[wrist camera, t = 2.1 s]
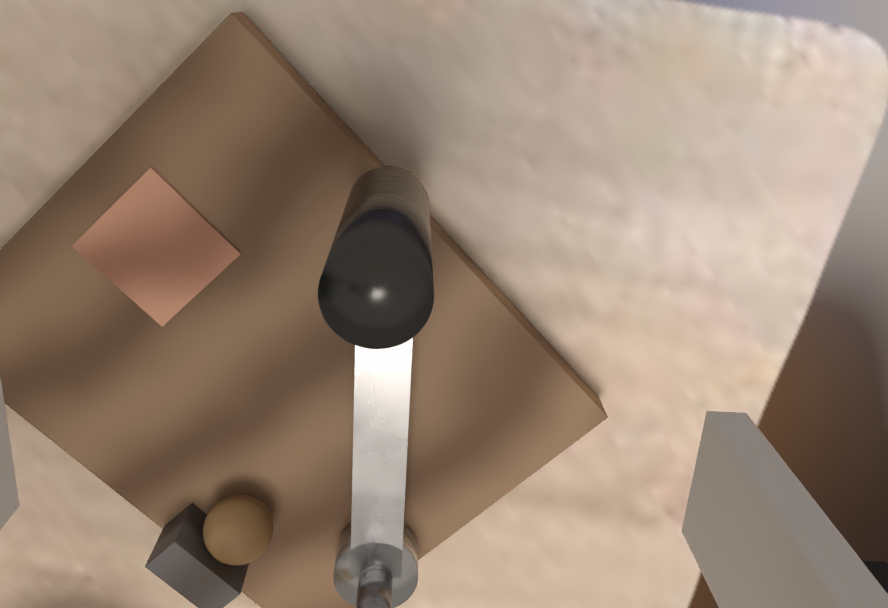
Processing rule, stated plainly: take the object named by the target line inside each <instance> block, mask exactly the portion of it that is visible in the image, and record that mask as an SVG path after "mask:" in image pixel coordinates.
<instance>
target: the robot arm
mask: <svg viewBox="0 0 888 608" xmlns="http://www.w3.org/2000/svg"><path fill="white" fill-rule="evenodd" d="M18 507H19V499H18V492H17V485H16V478H15V472H14V465H13V458H12V451H11V445H10V438H9V431H8V424H7V417H6V411H5V404H4V397H3V390H2V384H1V378H0V530H1V528H2V527H3V526H4V524H5V523H6V522H7V521H8V519H9V518H10V517H11V516H12V514H13V513H14V512H15V511H16V509H17V508H18ZM682 533H683V535H684V537H685V539H686V541H687V543H688V545H689V547H690V549H691V551H692V553H693V555H694V557H695V559H696V561H697V563H698V566H699V568H700V570H701V572H702V574H703V576H704V578H705V580H706V582H707V584H708V586H709V588H710V590H711V592H712V594H713V596H714V598H715V600H716V602H717V604H718V606H719V608H888V564H887V563H886V562H878V561H861V559H860V558H859V557H858V556H857V554H856V553H855V552H854V550H853V549H852V548H851V547H850V545H849V544H848V543H847V541H846V540H845V539H844V538H843V536H842V535H841V534H840V533H839V532H838V530H837V529H836V527H835V526H834V525H833V523H832V522H831V521H830V520H829V518H828V517H827V516H826V515H825V513H824V512H823V511H822V510H821V508H820V507H819V506H818V504H817V503H816V502H815V500H814V499H813V498H812V497H811V496H810V494H809V493H808V491H807V490H806V489H805V488H804V486H803V485H802V484H801V483H800V481H799V480H798V479H797V477H796V476H795V475H794V474H793V472H792V471H791V470H790V468H789V467H788V466H787V465H786V463H785V462H784V461H783V459H782V458H781V457H780V456H779V454H778V453H777V452H776V451H775V449H774V448H773V447H772V445H771V444H770V443H769V442H768V440H767V439H766V438H765V436H764V435H763V434H762V433H761V431H760V430H759V429H758V428H757V426H756V425H755V424H754V422H753V421H752V420H751V419H750V417H749V416H748V415H747V413H737V412H715V411H707V412H706V417H705V422H704V427H703V432H702V436H701V441H700V446H699V451H698V456H697V460H696V465H695V470H694V475H693V479H692V484H691V489H690V494H689V499H688V503H687V508H686V513H685V518H684V523H683V527H682Z"/></svg>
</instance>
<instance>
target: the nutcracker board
mask: <svg viewBox="0 0 888 608" xmlns="http://www.w3.org/2000/svg"><path fill="white" fill-rule="evenodd" d="M378 167H384V165H383V164H382V163H381V162H380V160H379V159H378V158H377V157H376V156H375V155H374V154H373V153H372V152H371V151H370V150H369V149H368V147H367V146H366V145H365V144H364V143H363V142H362V141H361V140H360V139H359V138H358V137H357V136H356V135H355V133H354V132H353V131H352V130H351V129H350V128H349V127H348V126H347V125H346V124H345V123H344V122H343V120H342V119H341V118H340V117H339V116H338V115H337V114H336V113H335V112H334V111H333V110H332V109H331V108H330V106H329V105H328V104H327V103H326V102H325V101H324V100H323V99H322V98H321V97H320V96H319V95H318V93H317V92H316V91H315V90H314V89H313V88H312V87H311V86H310V85H309V84H308V83H307V82H306V81H305V79H304V78H303V77H302V76H301V75H300V74H299V73H298V72H297V71H296V70H295V69H294V68H293V66H292V65H291V64H290V63H289V62H288V61H287V60H286V59H285V58H284V57H283V56H282V55H281V53H280V52H279V51H278V50H277V49H276V48H275V47H274V46H273V45H272V44H271V43H270V42H269V41H268V39H267V38H266V37H265V36H264V35H263V34H262V33H261V32H260V31H259V30H258V29H257V28H256V26H255V25H254V24H253V23H252V22H251V21H250V20H249V19H248V18H247V17H246V16H245V15H244V14H243V12H237V13H231V14H230V15H229V16H228V17H227V18H226V19H225V20H224V21H223V22H222V23H221V24H220V25H219V26H218V27H217V28H216V29H215V30H214V31H213V32H212V33H211V34H210V35H209V37H208V38H207V39H206V40H205V41H204V42H203V43H202V44H201V45H200V46H199V47H198V48H197V49H196V50H195V51H194V52H193V53H192V54H191V55H190V56H189V57H188V58H187V59H186V60H185V61H184V62H183V63H182V64H181V65H180V66H179V67H178V68H177V69H176V70H175V71H174V72H173V73H172V74H171V76H170V77H169V78H168V79H167V80H166V81H165V82H164V83H163V84H162V85H161V86H160V87H159V88H158V89H157V90H156V91H155V92H154V93H153V94H152V95H151V96H150V97H149V98H148V99H147V100H146V101H145V102H144V103H143V104H142V105H141V106H140V107H139V108H138V109H137V110H136V111H135V112H134V113H133V115H132V116H131V117H130V118H129V119H128V120H127V121H126V122H125V123H124V124H123V125H122V126H121V127H120V128H119V129H118V130H117V131H116V132H115V133H114V134H113V135H112V136H111V137H110V138H109V139H108V140H107V141H106V142H105V143H104V144H103V145H102V146H101V147H100V148H99V149H98V150H97V151H96V152H95V154H94V155H93V156H92V157H91V158H90V159H89V160H88V161H87V162H86V163H85V164H84V165H83V166H82V167H81V168H80V169H79V170H78V171H77V172H76V173H75V174H74V175H73V176H72V177H71V178H70V179H69V180H68V181H67V182H66V183H65V184H64V185H63V186H62V187H61V188H60V189H59V190H58V191H57V193H56V194H55V195H54V196H53V197H52V198H51V199H50V200H49V201H48V202H47V203H46V204H45V205H44V206H43V207H42V208H41V209H40V210H39V211H38V212H37V213H36V214H35V215H34V216H33V217H32V218H31V219H30V220H29V221H28V222H27V223H26V224H25V225H24V226H23V227H22V228H21V229H20V230H19V232H18V233H17V234H16V235H15V236H14V237H13V238H12V239H11V240H10V241H9V242H8V243H7V244H6V245H5V246H4V247H3V248H2V249H1V250H0V378H1V384H2V390H3V397H4V403H5V404H6V405H8V406H9V407H10V408H11V409H13V410H14V411H15V412H17V413H18V414H19V415H20V416H22V417H23V418H24V419H25V420H27V421H28V422H29V423H30V424H32V425H33V426H34V427H35V428H37V429H38V430H39V431H40V432H42V433H43V434H44V435H45V436H47V437H48V438H49V439H50V440H52V441H53V442H54V443H55V444H57V445H58V446H59V447H61V448H62V449H63V450H64V451H66V452H67V453H68V454H69V455H71V456H72V457H73V458H74V459H76V460H77V461H78V462H79V463H81V464H82V465H83V466H84V467H86V468H87V469H88V470H89V471H91V472H92V473H93V474H94V475H96V476H97V477H98V478H99V479H101V480H102V481H103V482H104V483H106V484H107V485H108V486H110V487H111V488H112V489H113V490H115V491H116V492H117V493H118V494H120V495H121V496H122V497H123V498H125V499H126V500H127V501H128V502H130V503H131V504H132V505H133V506H135V507H136V508H137V509H138V510H140V511H141V512H142V513H143V514H145V515H146V516H147V517H148V518H150V519H151V520H152V521H154V522H155V523H156V524H157V525H159V526H160V527H161V528H162V529H163V530H162V532H161V534H160V536H159V539H158V541H157V543H156V545H155V547H154V549H153V551H152V553H151V555H150V557H149V559H148V561H147V564H146V566H145V567H146V568H147V569H149V570H150V571H151V572H153V573H154V574H155V575H156V576H158V577H159V578H160V579H162V580H163V581H164V582H165V583H167V584H168V585H169V586H171V587H172V588H173V589H175V590H176V591H177V592H178V593H180V594H181V595H182V596H184V597H185V598H186V599H188V600H189V601H190V602H191V603H193V604H194V605H195V606H197V607H198V608H223V607H224V606H226V605H227V604H228V603H230V602H231V601H232V600H233V599H235V598H236V597H237V596H238V595H240V593H241V592H243V593H244V594H245V595H247V596H248V597H249V598H250V599H252V600H253V601H254V602H255V603H257V604H258V605H259V606H260V607H262V608H355V606H353V605H351V604H349V603H348V602H346V601H345V600H344V599H343V598H342V597H341V596H340V595H339V593H338V592H337V590H336V588H335V585H334V581H333V573H334V566H335V559H336V553H337V546H338V541H339V539H340V536H341V535H342V533H343V532H344V531H345V529H346V528H348V527H349V526H350V525H351V516H352V468H353V421H354V373H355V345H353V344H351V343H349V342H347V341H345V340H344V339H342V338H341V337H339V336H338V335H337V334H336V333H335V332H334V331H333V330H332V329H331V328H330V327H329V325H328V324H327V323H326V321H325V319H324V317H323V315H322V313H321V310H320V307H319V302H318V285H319V281H320V277H321V274H322V272H323V269H324V266H325V263H326V260H327V257H328V254H329V252H330V249H331V246H332V243H333V240H334V237H335V234H336V231H337V229H338V226H339V223H340V220H341V217H342V214H343V211H344V208H345V206H346V203H347V200H348V197H349V194H350V191H351V189H352V187H353V185H354V184H355V182H356V181H357V180H358V179H359V178H360V177H361V176H362V175H363V174H365V173H366V172H368V171H370V170H372V169H375V168H378ZM430 226H431V245H432V264H433V283H434V303H433V308H432V312H431V314H430V317H429V319H428V321H427V322H426V324H425V326H424V327H423V328H422V329H421V331H420V332H419V333H418V334H416V335H415V336H414V337H413V345H412V365H411V385H410V406H409V426H408V446H407V467H406V487H405V507H404V525H405V526H406V527H407V528H408V529H409V530H410V531H411V532H412V533H413V535H414V537H415V539H416V541H417V546H418V560H419V559H420V558H422V557H423V556H424V555H426V554H427V553H428V552H430V551H431V550H432V549H434V548H435V547H436V546H438V545H439V544H440V543H442V542H443V541H444V540H446V539H447V538H448V537H450V536H451V535H452V534H454V533H455V532H456V531H458V530H459V529H460V528H462V527H463V526H464V525H466V524H467V523H468V522H470V521H471V520H472V519H474V518H475V517H476V516H478V515H479V514H480V513H482V512H483V511H484V510H486V509H487V508H488V507H490V506H491V505H492V504H493V503H495V502H496V501H497V500H499V499H500V498H501V497H503V496H504V495H505V494H507V493H508V492H509V491H511V490H512V489H513V488H515V487H516V486H517V485H519V484H520V483H521V482H523V481H524V480H525V479H527V478H528V477H529V476H531V475H532V474H533V473H535V472H536V471H537V470H539V469H540V468H541V467H543V466H544V465H545V464H547V463H548V462H549V461H551V460H552V459H553V458H555V457H556V456H557V455H559V454H560V453H561V452H563V451H564V450H565V449H567V448H568V447H569V446H571V445H572V444H573V443H575V442H576V441H577V440H579V439H580V438H581V437H582V436H584V435H585V434H586V433H588V432H589V431H590V430H592V429H593V428H594V427H596V426H597V425H598V424H600V423H601V422H602V421H604V420H605V419H606V418H608V417H607V414H606V412H605V410H604V408H603V405H602V403H601V401H600V399H599V397H598V396H597V395H596V394H595V393H594V392H593V391H592V390H591V388H590V387H589V386H588V385H587V384H586V383H585V382H584V381H583V380H582V379H581V378H580V377H579V375H578V374H577V373H576V372H575V371H574V370H573V369H572V368H571V367H570V366H569V365H568V364H567V363H566V361H565V360H564V359H563V358H562V357H561V356H560V355H559V354H558V353H557V352H556V351H555V350H554V348H553V347H552V346H551V345H550V344H549V343H548V342H547V341H546V340H545V339H544V338H543V337H542V335H541V334H540V333H539V332H538V331H537V330H536V329H535V328H534V327H533V326H532V325H531V324H530V323H529V321H528V320H527V319H526V318H525V317H524V316H523V315H522V314H521V313H520V312H519V311H518V310H517V308H516V307H515V306H514V305H513V304H512V303H511V302H510V301H509V300H508V299H507V298H506V297H505V296H504V294H503V293H502V292H501V291H500V290H499V289H498V288H497V287H496V286H495V285H494V284H493V283H492V281H491V280H490V279H489V278H488V277H487V276H486V275H485V274H484V273H483V272H482V271H481V270H480V269H479V267H478V266H477V265H476V264H475V263H474V262H473V261H472V260H471V259H470V258H469V257H468V256H467V254H466V253H465V252H464V251H463V250H462V249H461V248H460V247H459V246H458V245H457V244H456V243H455V241H454V240H453V239H452V238H451V237H450V236H449V235H448V234H447V233H446V232H445V231H444V230H443V229H442V227H441V226H440V225H439V224H438V223H437V222H436V221H435V220H434V219H433V218H432V217H431V216H430Z"/></svg>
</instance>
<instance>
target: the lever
mask: <svg viewBox="0 0 888 608" xmlns="http://www.w3.org/2000/svg"><path fill="white" fill-rule="evenodd" d="M318 302H319V307H320V310H321V313H322V315H323V317H324V319H325V321H326V323H327V324H328V325H329V327H330V328H331V329H332V330H333V331H334V332H335V333H336V334H337V335H338V336H339V337H341V338H342V339H344V340H345V341H347V342H349V343H351V344H353V345H355V373H354V421H353V468H352V516H351V525H350V526H349V527H348V528H346V529H345V531H344V532H343V533H342V535H341V536H340V539H339V541H338V546H337V553H336V559H335V566H334V573H333V581H334V585H335V588H336V590H337V592H338V593H339V595H340V596H341V597H342V598H343V599H344V600H345V601H346V602H348V603H349V604H351V605H353V606H355V607H356V608H395V607H397V606H399V605H401V604H402V603H404V602H405V601H406V600H408V599H409V597H410V596H411V595H412V594H413V592H414V590H415V588H416V586H417V581H418V546H417V541H416V539H415V537H414V535H413V533H412V532H411V531H410V530H409V529H408V528H407V527H406V526H405V525H404V507H405V487H406V467H407V446H408V426H409V406H410V385H411V365H412V345H413V337H414V336H415V335H416V334H418V333H419V332H420V331H421V329H422V328H423V327H424V326H425V324H426V322H427V321H428V319H429V317H430V314H431V312H432V308H433V303H434V283H433V264H432V245H431V226H430V207H429V198H428V195H427V192H426V190H425V188H424V186H423V185H422V183H421V182H420V181H419V180H418V179H417V178H416V177H415V176H414V175H413V174H411V173H410V172H408V171H406V170H404V169H401V168H397V167H391V166H384V167H378V168H375V169H372V170H370V171H368V172H366V173H365V174H363V175H362V176H361V177H360V178H359V179H358V180H357V181H356V182H355V184H354V185H353V187H352V189H351V191H350V194H349V197H348V200H347V203H346V206H345V208H344V211H343V214H342V217H341V220H340V223H339V226H338V229H337V231H336V234H335V237H334V240H333V243H332V246H331V249H330V252H329V254H328V257H327V260H326V263H325V266H324V269H323V272H322V274H321V277H320V281H319V285H318Z"/></svg>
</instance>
